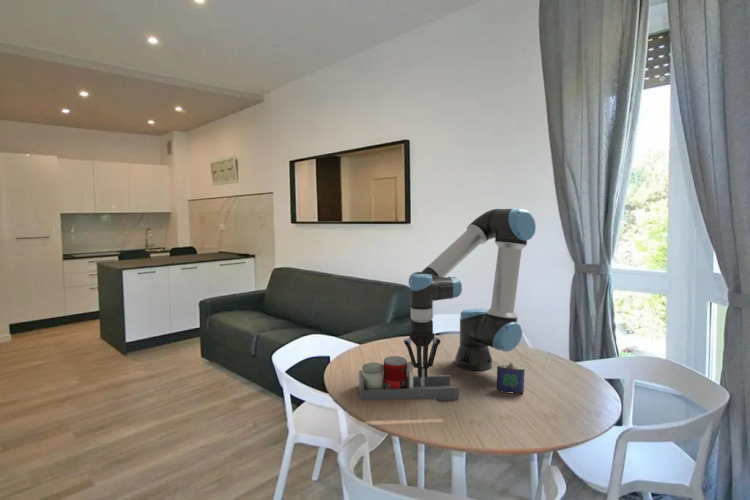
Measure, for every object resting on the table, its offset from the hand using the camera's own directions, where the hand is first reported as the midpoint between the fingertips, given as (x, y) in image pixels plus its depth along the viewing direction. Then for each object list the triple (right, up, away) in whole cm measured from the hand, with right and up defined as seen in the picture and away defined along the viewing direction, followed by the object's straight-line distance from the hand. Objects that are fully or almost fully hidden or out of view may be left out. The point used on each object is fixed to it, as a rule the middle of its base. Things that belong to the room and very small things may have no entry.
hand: (422, 386), depth 148 cm
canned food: (-10, -2, -1) cm, 10 cm away
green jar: (-17, -2, -1) cm, 17 cm away
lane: (-5, -3, 0) cm, 6 cm away
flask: (+31, -3, +2) cm, 31 cm away
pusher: (-5, -1, 0) cm, 5 cm away
